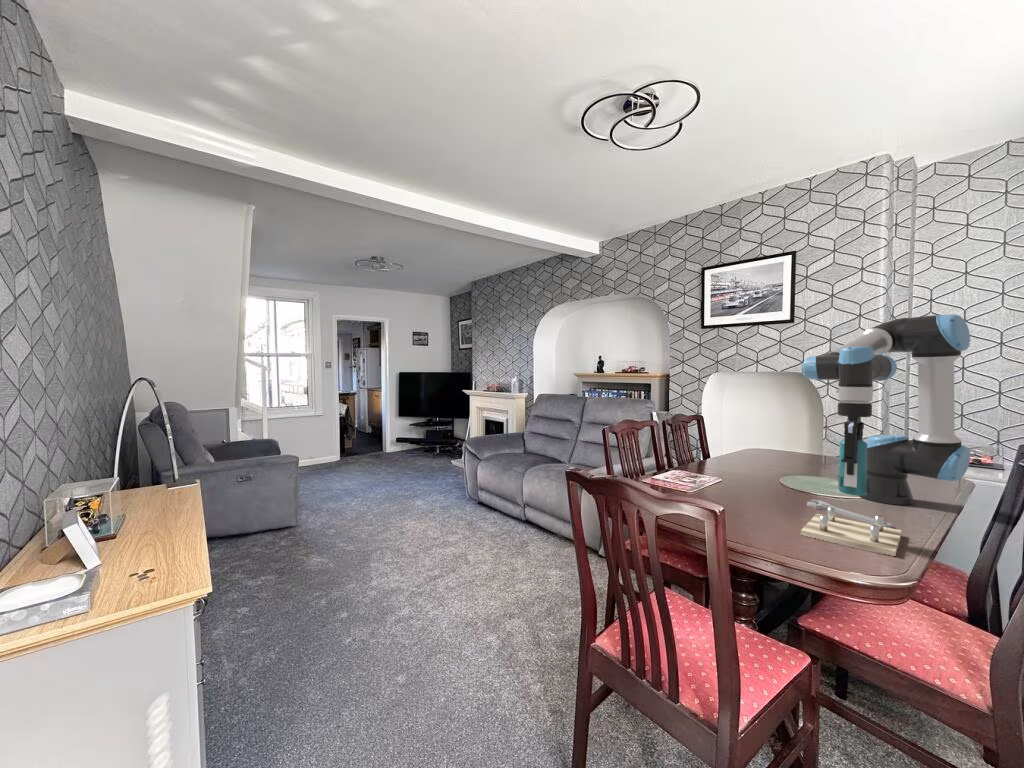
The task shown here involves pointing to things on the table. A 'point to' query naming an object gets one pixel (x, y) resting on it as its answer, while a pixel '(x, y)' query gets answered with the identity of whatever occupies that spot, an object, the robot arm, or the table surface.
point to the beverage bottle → (861, 470)
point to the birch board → (854, 535)
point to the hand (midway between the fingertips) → (852, 483)
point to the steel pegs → (873, 528)
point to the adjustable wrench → (845, 512)
